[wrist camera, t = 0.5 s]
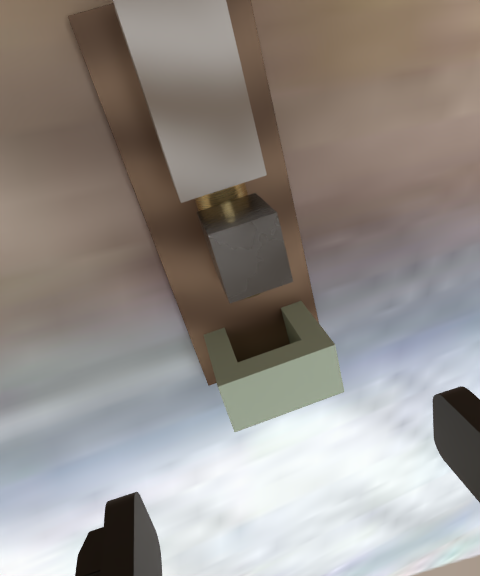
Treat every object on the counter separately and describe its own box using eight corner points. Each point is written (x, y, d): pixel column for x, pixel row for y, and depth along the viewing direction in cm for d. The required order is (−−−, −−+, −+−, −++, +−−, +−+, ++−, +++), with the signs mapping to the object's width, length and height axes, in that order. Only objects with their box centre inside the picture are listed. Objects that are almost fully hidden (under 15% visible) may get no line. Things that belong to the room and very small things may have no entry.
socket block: (203, 334, 34) (218, 386, 28) (301, 300, 34) (335, 344, 29) (218, 375, 36) (234, 432, 30) (310, 342, 36) (344, 392, 31)
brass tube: (129, 12, 24) (128, -16, 17) (194, -7, 24) (218, -41, 17) (218, 285, 31) (241, 341, 25) (266, 269, 32) (302, 320, 25)
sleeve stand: (71, 19, 25) (52, 1, 19) (237, -28, 26) (267, -59, 20) (205, 374, 37) (219, 428, 31) (316, 335, 38) (349, 380, 32)
